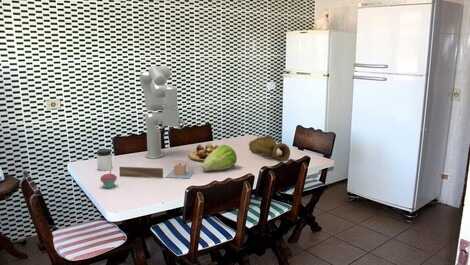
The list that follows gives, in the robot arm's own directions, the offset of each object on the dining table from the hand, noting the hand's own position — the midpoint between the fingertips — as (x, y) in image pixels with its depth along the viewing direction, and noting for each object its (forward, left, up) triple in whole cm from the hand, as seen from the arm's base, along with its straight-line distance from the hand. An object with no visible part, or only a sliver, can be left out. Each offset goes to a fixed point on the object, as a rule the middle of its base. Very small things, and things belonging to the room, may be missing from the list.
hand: (171, 134), depth 232 cm
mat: (+7, +7, -23) cm, 25 cm away
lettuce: (-8, +28, -23) cm, 37 cm away
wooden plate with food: (-37, +19, -24) cm, 47 cm away
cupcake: (+32, -27, -23) cm, 48 cm away
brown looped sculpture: (-42, +60, -23) cm, 77 cm away
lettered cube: (+7, +7, -23) cm, 25 cm away
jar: (+1, -43, -23) cm, 49 cm away
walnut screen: (+14, -15, -23) cm, 31 cm away
